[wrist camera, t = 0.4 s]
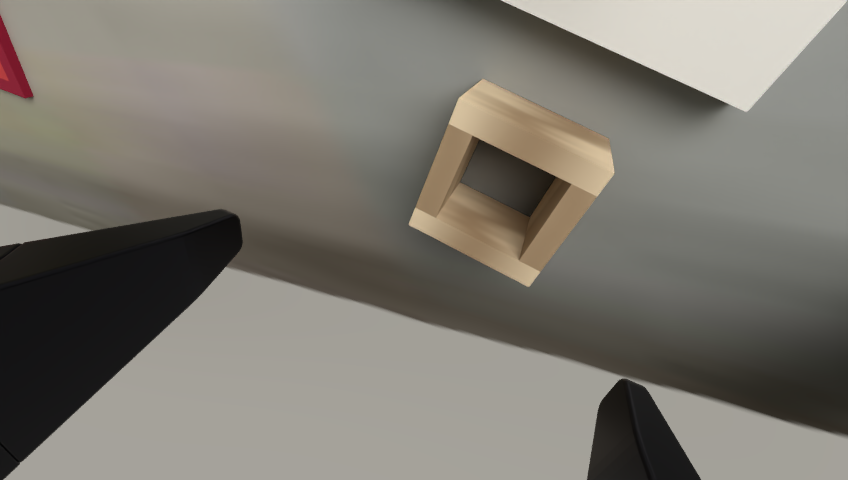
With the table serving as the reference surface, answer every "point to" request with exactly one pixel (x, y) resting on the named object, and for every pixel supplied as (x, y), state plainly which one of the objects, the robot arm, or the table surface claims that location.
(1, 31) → the red board with handle
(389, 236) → the table surface
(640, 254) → the table surface
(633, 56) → the post plate
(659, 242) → the table surface
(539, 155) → the collar
